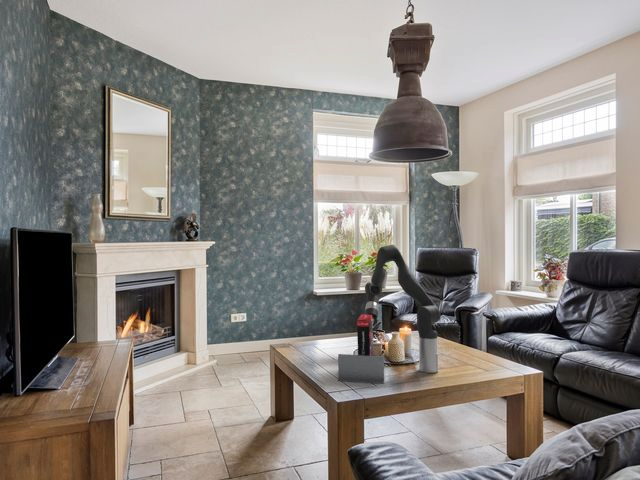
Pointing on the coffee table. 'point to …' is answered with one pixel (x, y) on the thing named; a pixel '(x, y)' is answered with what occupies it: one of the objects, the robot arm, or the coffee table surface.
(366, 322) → the graphics card box
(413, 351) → the coffee table surface
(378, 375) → the bracket
